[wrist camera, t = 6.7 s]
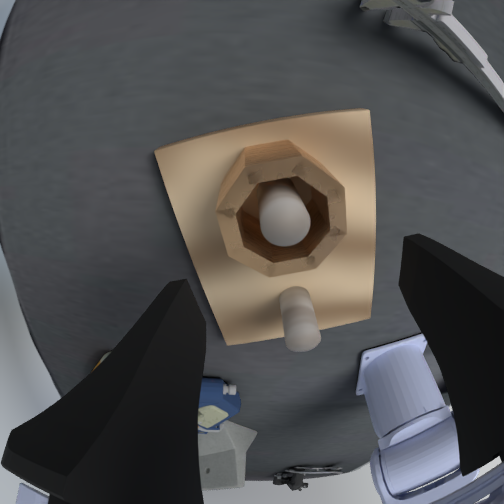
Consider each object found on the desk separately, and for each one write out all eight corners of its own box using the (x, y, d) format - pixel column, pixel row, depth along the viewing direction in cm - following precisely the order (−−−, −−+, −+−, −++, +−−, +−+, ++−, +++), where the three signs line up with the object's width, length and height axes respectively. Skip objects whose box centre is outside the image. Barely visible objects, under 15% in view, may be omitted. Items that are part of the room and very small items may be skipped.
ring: (327, 225, 17) (347, 262, 14) (237, 242, 17) (236, 283, 14) (317, 135, 14) (341, 150, 11) (214, 153, 14) (205, 175, 11)
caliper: (354, 9, 11) (406, -19, 6) (359, -3, 10) (410, -34, 5) (528, 150, 15) (574, 176, 9) (531, 141, 14) (578, 165, 9)
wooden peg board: (365, 308, 23) (385, 355, 18) (227, 334, 24) (225, 385, 19) (361, 108, 14) (405, 119, 10) (159, 147, 15) (127, 171, 11)
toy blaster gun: (56, 333, 24) (95, 398, 33) (43, 363, 21) (88, 421, 29) (245, 357, 27) (235, 415, 35) (247, 394, 23) (236, 442, 31)
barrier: (157, 453, 46) (153, 493, 37) (129, 442, 43) (121, 484, 34) (257, 430, 36) (259, 488, 28) (222, 417, 33) (221, 483, 25)
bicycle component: (347, 467, 51) (297, 468, 48) (342, 492, 47) (292, 495, 43) (318, 464, 60) (272, 462, 57) (314, 486, 56) (267, 486, 52)
